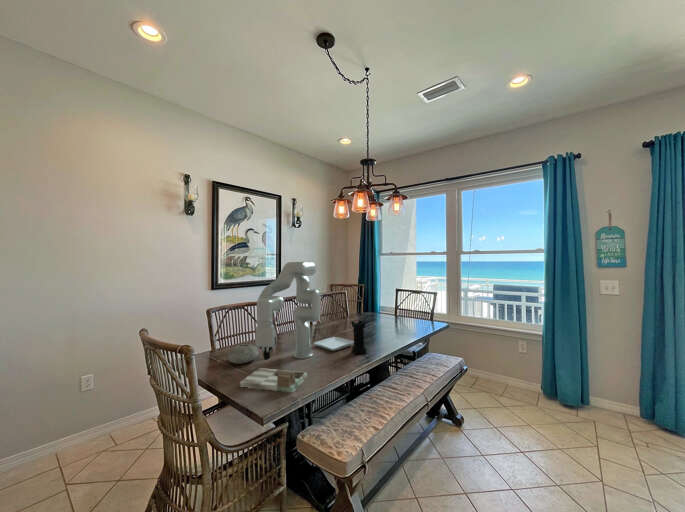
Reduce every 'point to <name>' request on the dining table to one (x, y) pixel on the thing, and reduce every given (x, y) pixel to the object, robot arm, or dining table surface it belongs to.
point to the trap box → (271, 380)
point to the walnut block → (286, 379)
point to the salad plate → (334, 343)
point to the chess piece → (358, 338)
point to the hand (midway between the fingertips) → (267, 358)
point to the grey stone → (242, 353)
